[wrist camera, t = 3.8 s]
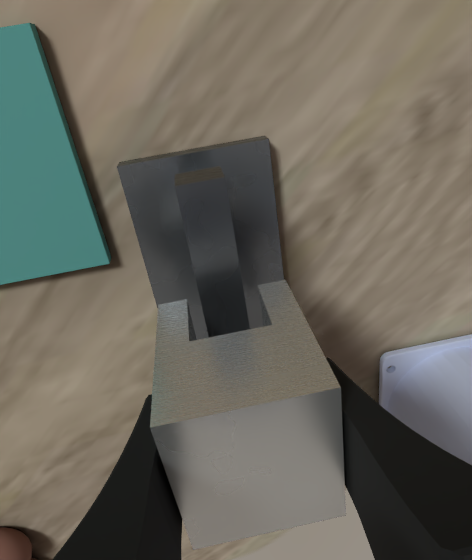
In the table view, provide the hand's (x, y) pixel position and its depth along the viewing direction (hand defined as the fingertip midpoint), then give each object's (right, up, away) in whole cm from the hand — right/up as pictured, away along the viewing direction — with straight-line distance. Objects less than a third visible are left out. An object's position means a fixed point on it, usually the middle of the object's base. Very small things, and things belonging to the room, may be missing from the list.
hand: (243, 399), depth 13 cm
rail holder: (-1, +3, +7) cm, 8 cm away
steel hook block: (0, +1, +2) cm, 3 cm away
